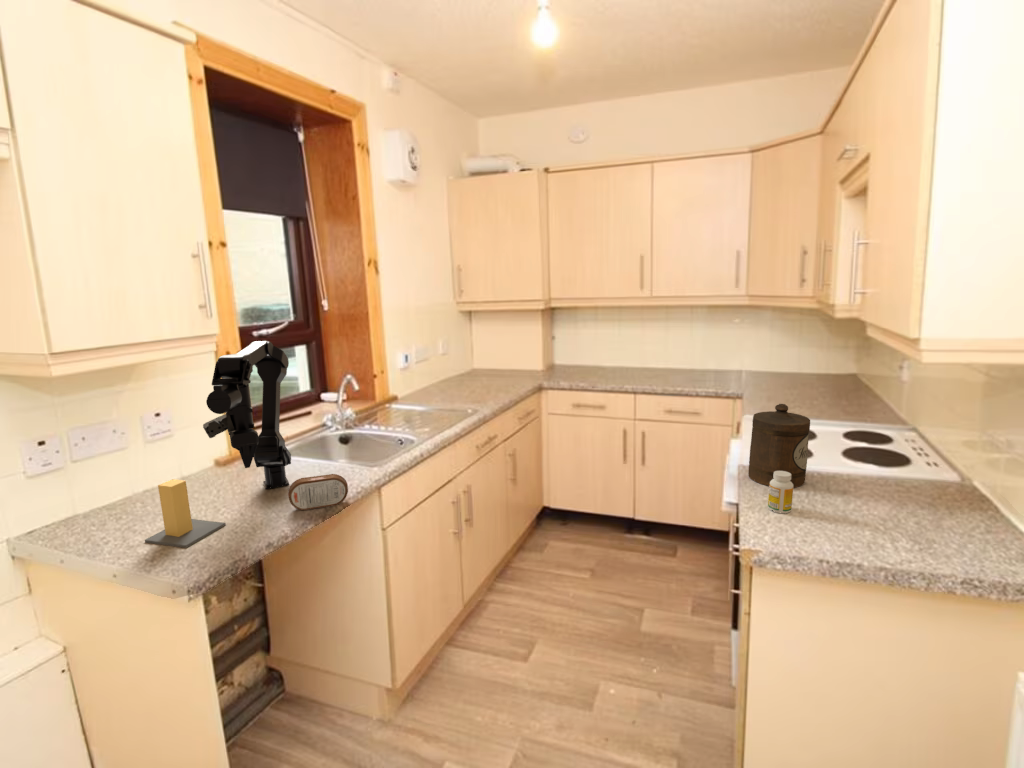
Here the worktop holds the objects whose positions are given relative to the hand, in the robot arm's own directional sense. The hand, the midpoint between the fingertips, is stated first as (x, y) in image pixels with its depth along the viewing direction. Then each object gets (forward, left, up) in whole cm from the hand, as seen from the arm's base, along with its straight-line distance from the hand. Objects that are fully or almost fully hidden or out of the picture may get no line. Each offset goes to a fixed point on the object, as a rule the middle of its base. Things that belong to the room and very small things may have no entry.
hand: (245, 462), depth 146 cm
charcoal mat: (+7, -15, -13) cm, 21 cm away
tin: (+8, +16, -13) cm, 22 cm away
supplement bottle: (+73, +115, -13) cm, 137 cm away
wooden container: (+59, +133, -13) cm, 146 cm away
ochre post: (+7, -16, -12) cm, 22 cm away
